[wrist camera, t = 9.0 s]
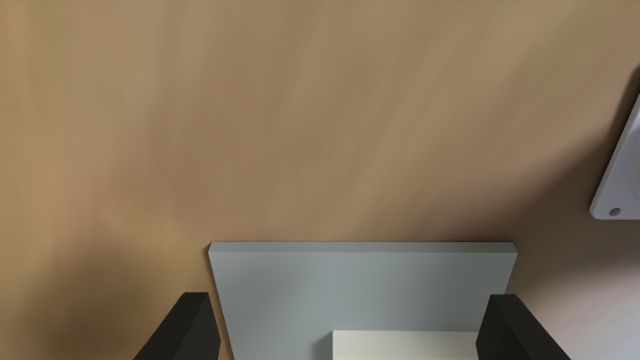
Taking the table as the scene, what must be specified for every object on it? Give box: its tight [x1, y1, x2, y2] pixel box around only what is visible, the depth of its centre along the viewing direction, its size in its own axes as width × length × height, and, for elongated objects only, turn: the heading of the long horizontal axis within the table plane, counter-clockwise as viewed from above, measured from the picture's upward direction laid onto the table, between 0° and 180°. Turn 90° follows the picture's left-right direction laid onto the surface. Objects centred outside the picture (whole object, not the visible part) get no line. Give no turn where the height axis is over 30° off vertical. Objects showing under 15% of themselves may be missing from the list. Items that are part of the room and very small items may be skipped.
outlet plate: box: [208, 242, 518, 360], centre depth 25 cm, size 16×16×3 cm
